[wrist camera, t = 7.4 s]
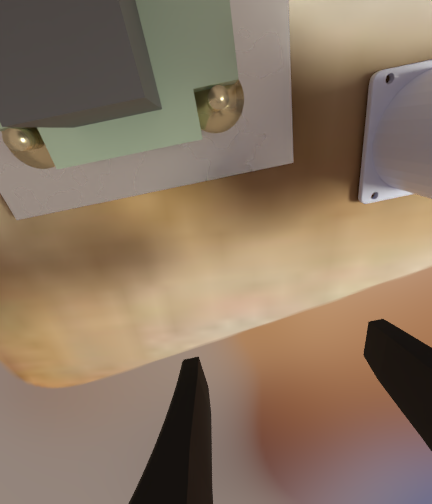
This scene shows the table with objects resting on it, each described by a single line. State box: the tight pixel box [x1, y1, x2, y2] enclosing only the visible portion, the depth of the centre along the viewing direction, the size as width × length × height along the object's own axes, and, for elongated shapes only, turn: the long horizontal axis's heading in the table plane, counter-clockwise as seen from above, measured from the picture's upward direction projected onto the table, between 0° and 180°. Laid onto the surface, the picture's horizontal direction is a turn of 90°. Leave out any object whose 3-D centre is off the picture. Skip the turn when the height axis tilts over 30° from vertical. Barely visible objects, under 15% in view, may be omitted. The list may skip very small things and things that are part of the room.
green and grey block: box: [0, 0, 239, 169], centre depth 8 cm, size 11×8×6 cm
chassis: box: [0, 0, 293, 220], centre depth 11 cm, size 18×14×4 cm
